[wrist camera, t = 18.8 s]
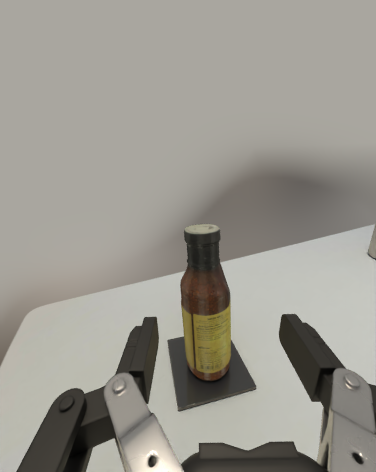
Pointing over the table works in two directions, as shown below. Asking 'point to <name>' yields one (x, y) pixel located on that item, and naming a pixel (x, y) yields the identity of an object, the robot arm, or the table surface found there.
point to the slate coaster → (202, 391)
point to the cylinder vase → (373, 244)
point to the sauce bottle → (205, 305)
